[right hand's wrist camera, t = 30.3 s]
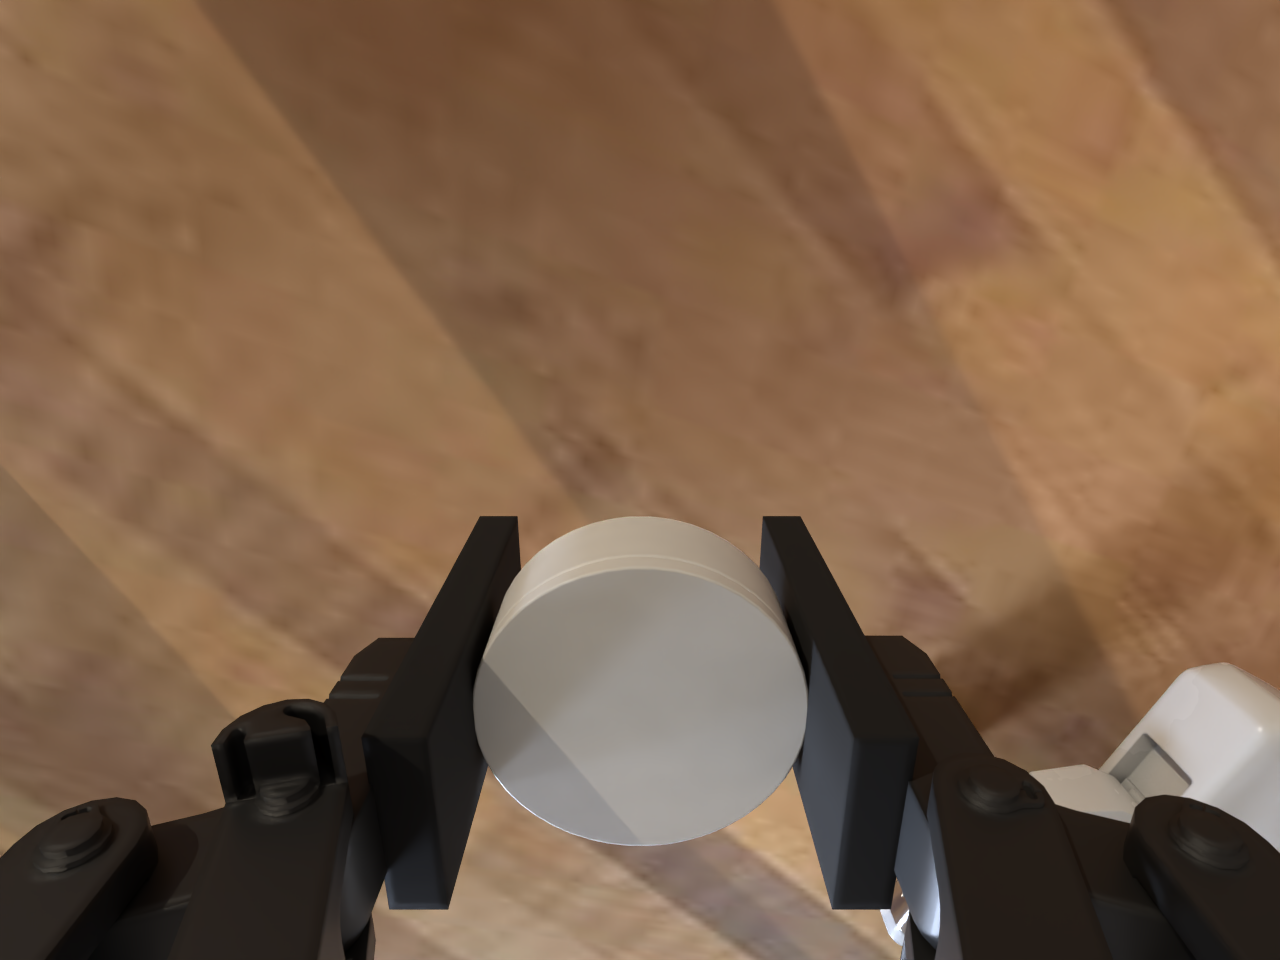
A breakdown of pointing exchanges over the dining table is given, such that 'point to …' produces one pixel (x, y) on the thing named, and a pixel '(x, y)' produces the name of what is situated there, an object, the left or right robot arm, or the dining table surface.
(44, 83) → the dining table surface
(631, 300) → the dining table surface
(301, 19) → the dining table surface
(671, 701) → the white round canister
